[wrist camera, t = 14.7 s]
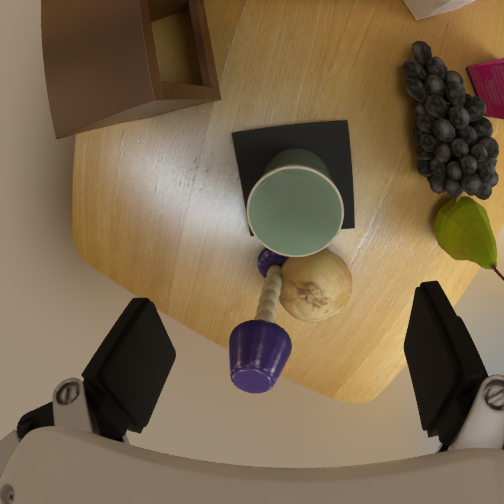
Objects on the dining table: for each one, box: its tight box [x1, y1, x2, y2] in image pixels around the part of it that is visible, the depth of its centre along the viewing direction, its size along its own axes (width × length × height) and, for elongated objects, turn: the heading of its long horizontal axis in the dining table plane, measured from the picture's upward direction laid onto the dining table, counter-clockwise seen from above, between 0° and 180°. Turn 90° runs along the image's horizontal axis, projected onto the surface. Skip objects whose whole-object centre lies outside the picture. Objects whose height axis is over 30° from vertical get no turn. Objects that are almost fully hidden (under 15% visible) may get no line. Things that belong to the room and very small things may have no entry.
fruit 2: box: [433, 197, 504, 280], centre depth 22 cm, size 6×6×12 cm
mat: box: [232, 120, 355, 236], centre depth 28 cm, size 11×11×1 cm
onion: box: [279, 249, 352, 322], centre depth 30 cm, size 8×8×7 cm
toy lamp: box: [229, 248, 292, 393], centre depth 25 cm, size 5×5×17 cm
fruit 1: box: [403, 41, 499, 202], centre depth 19 cm, size 9×8×15 cm
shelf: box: [41, 0, 221, 139], centre depth 18 cm, size 12×8×14 cm, turn 9°
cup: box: [247, 148, 344, 257], centre depth 24 cm, size 7×7×9 cm
